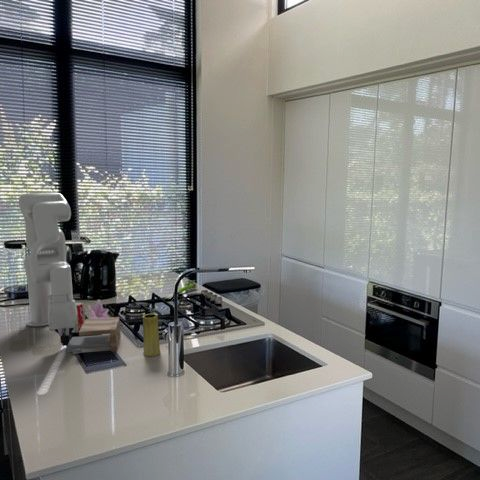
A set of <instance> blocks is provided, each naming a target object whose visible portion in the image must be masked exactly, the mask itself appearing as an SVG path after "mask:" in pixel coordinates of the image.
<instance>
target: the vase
mask: <svg viewBox="0 0 480 480" xmlns="http://www.w3.org/2000/svg"><path fill="white" fill-rule="evenodd" d="M158 319H159V318H158V314H157V313H147V314H144V315H143V316H142V325H143V326H142V329H143V331H142V333H143V353H142V354H143V355H144V356H145V357H156V356H158V355H160V354H161V347H160V334H159V320H158Z"/></svg>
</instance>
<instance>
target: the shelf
mask: <svg viewBox="0 0 480 480" xmlns="http://www.w3.org/2000/svg"><path fill="white" fill-rule="evenodd" d="M120 320H121V319H120V316H115V317H114V316H113V317H110V316H109V318H94V319H93V318H85V322H84V324H83V325H82V327H81V329H80V331H79V333H78V337H81V336H97V335H110V340H111V346H100V347H87V348H79V349H74V350H73V352H72V355H77V354H81V353H93V352H94V353H95V352H107V351H110V352H111V353H112V352H117V351H118V347H119V344H120V340H121V321H120Z"/></svg>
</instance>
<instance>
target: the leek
mask: <svg viewBox="0 0 480 480" xmlns="http://www.w3.org/2000/svg"><path fill="white" fill-rule="evenodd" d="M187 282H188V283H187ZM187 282H185V284H184V286H183V287H182V288H179V289H178V290H179V295H181V294H182V293H183V292H185V291H187V290H190V289H192V290H195V288H197V284H196V283H195V282H196V280H195V279H193V280H188V281H187ZM173 293H174V292H172V293H170V294H169V295H167V296H166V297H164V298H163V299H165V300H166V299H167V300H169V299H171V298H172V297H173Z"/></svg>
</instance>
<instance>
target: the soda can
mask: <svg viewBox="0 0 480 480" xmlns="http://www.w3.org/2000/svg"><path fill="white" fill-rule="evenodd" d="M75 303H76V307H77V312H78V324H79V328H78V329H76V330H73V331H72V332H71V334H79V331H80V329H81V327H82V325H83V324H84V322H85V320H86V310H85V306H84V304H83V302H82V301H75Z"/></svg>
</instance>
